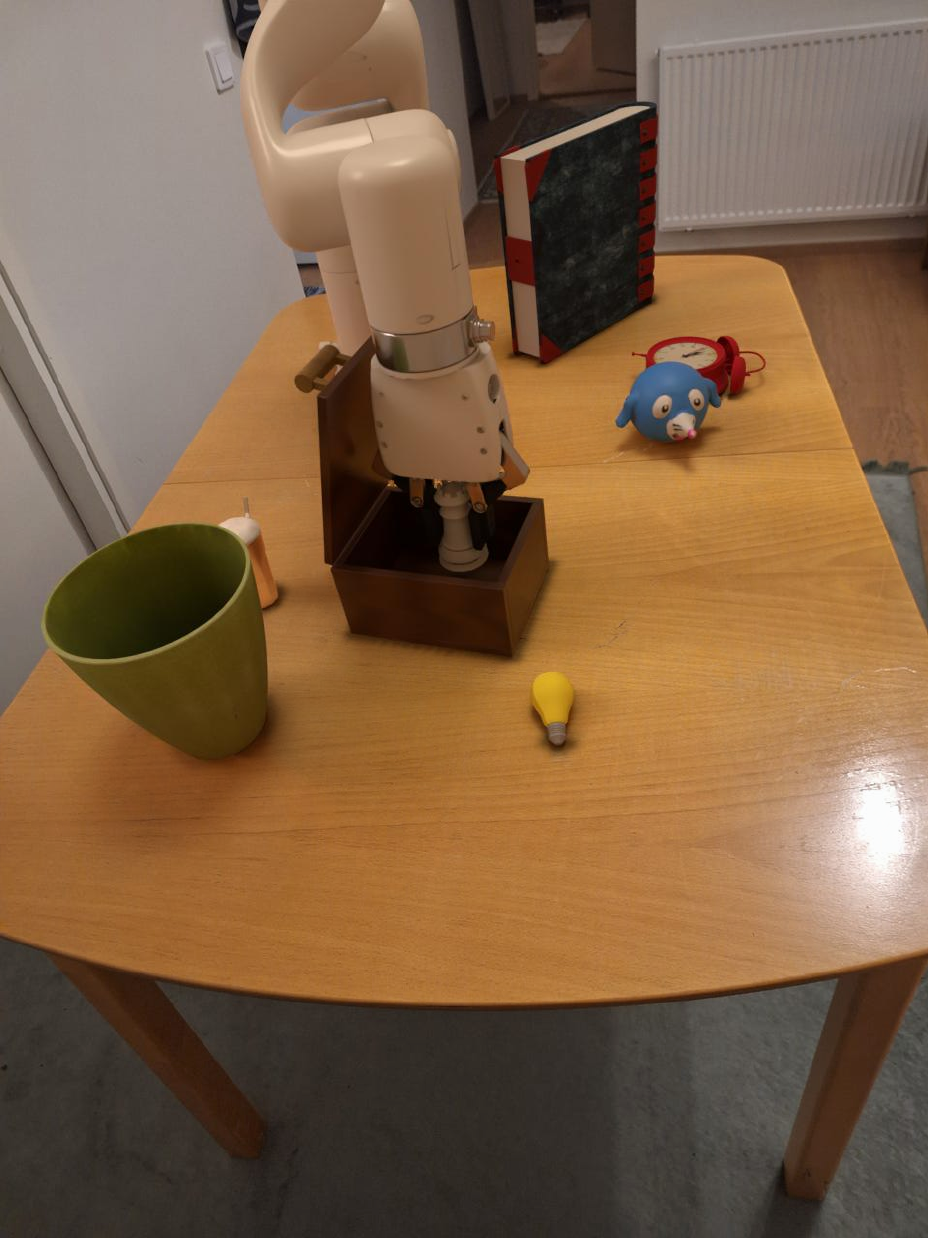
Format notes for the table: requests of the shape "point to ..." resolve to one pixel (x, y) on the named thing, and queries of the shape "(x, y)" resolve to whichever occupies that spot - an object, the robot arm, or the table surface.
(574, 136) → the book
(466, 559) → the rook chess piece
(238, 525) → the milkshake
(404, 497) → the chest
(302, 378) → the lid
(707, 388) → the blue dog toy
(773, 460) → the table surface
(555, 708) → the light bulb
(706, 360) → the alarm clock
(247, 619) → the flower pot
